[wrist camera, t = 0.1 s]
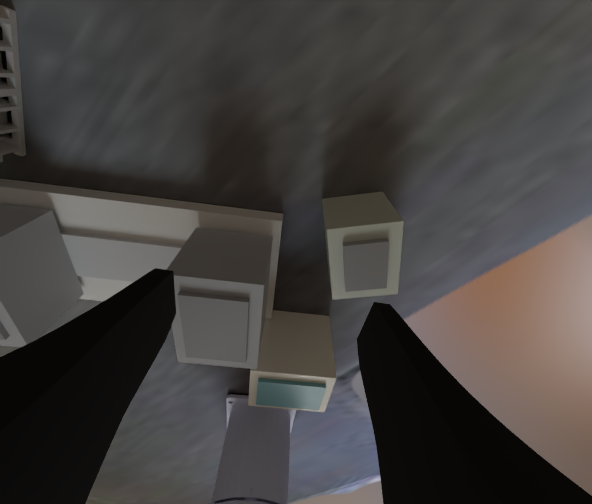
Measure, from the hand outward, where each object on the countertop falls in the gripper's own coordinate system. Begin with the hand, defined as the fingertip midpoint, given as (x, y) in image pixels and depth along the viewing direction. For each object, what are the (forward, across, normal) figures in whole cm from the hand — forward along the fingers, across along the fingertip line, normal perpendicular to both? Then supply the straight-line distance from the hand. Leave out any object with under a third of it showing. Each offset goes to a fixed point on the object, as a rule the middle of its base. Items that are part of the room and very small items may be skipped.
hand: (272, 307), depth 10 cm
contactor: (+10, -5, +1) cm, 11 cm away
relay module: (+10, -3, +12) cm, 16 cm away
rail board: (+10, +10, +6) cm, 15 cm away
